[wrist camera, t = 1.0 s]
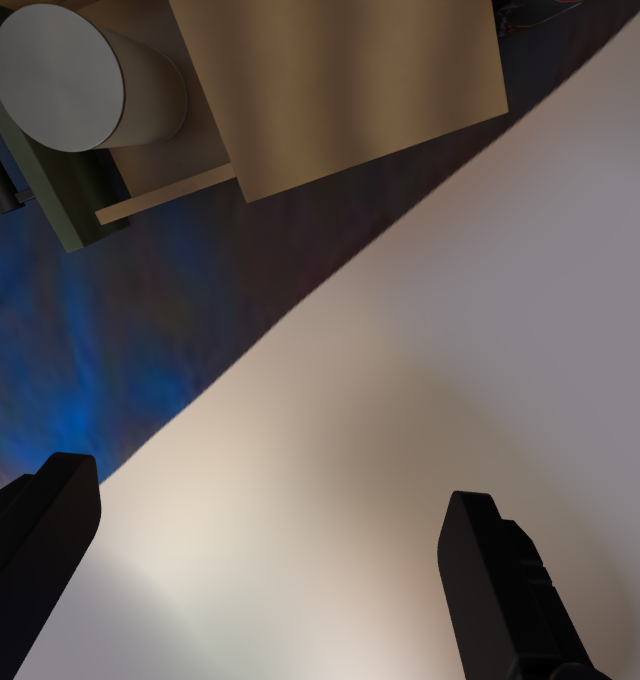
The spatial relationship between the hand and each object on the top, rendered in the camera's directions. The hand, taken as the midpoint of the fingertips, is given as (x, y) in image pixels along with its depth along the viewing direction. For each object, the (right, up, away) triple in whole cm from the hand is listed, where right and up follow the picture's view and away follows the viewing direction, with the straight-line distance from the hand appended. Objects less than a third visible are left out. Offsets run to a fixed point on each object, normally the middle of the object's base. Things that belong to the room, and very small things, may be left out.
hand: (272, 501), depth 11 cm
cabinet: (+2, +23, +18) cm, 29 cm away
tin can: (-10, +19, +18) cm, 28 cm away
